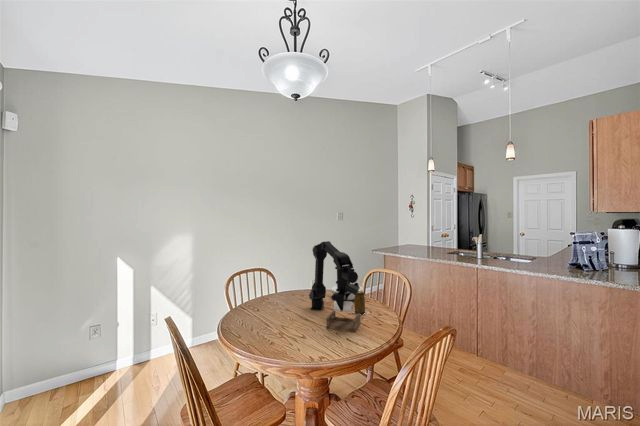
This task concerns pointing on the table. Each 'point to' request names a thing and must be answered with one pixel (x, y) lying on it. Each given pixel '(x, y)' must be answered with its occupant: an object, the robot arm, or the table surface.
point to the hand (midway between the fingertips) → (343, 308)
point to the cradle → (343, 323)
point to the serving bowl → (349, 295)
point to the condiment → (360, 303)
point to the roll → (346, 308)
